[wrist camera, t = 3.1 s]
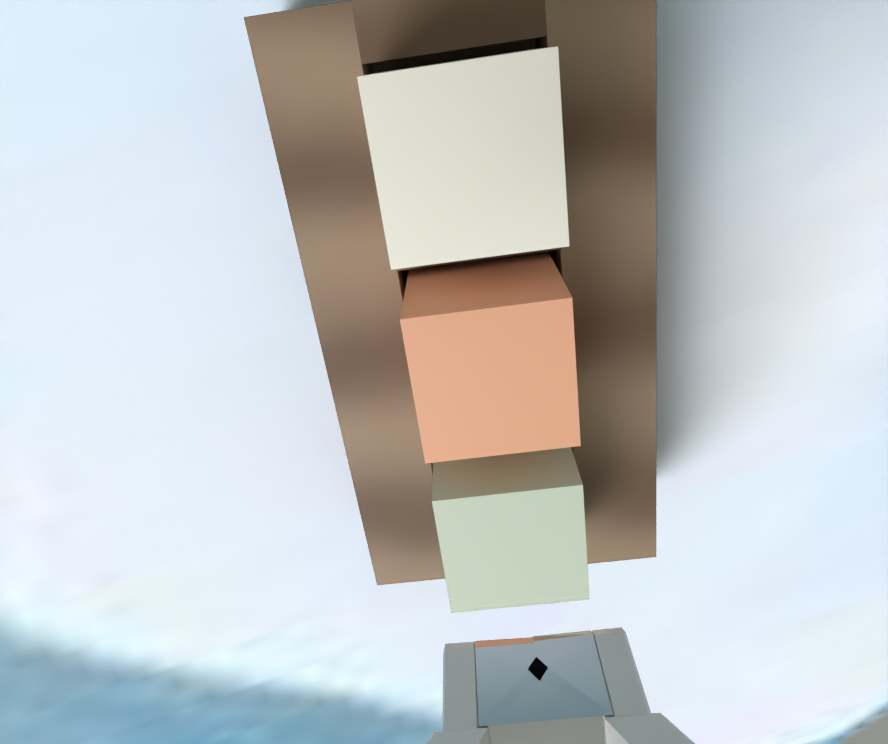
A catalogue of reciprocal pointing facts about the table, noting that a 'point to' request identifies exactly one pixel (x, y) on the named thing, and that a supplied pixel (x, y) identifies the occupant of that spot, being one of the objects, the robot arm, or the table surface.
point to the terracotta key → (491, 357)
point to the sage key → (511, 529)
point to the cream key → (468, 157)
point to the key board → (382, 290)
